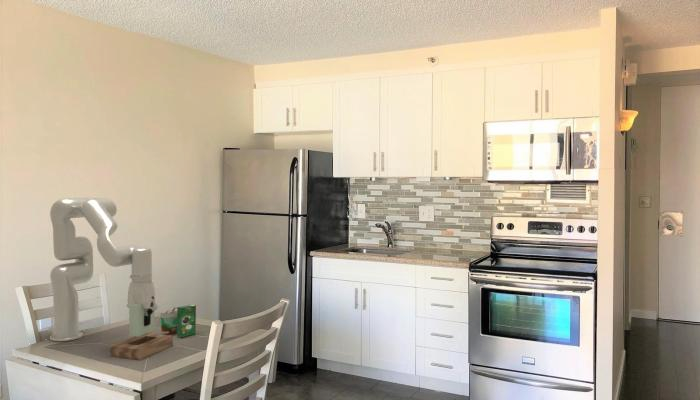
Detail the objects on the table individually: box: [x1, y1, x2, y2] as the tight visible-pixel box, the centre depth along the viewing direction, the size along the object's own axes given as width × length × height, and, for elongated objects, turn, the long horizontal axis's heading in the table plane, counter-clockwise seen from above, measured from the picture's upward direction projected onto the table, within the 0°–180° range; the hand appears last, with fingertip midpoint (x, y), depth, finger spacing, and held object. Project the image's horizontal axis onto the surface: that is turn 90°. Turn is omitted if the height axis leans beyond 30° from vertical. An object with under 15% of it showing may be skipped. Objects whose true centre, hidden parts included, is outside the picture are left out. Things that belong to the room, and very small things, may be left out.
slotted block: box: [109, 332, 174, 361], centre depth 225 cm, size 14×20×4 cm
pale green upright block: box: [128, 304, 156, 337], centre depth 225 cm, size 4×10×12 cm, turn 162°
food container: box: [159, 306, 178, 336], centre depth 251 cm, size 12×6×10 cm, turn 168°
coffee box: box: [176, 304, 197, 339], centre depth 247 cm, size 8×3×13 cm, turn 139°
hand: (142, 324), depth 225 cm, fingers closed on pale green upright block, 4 cm apart
